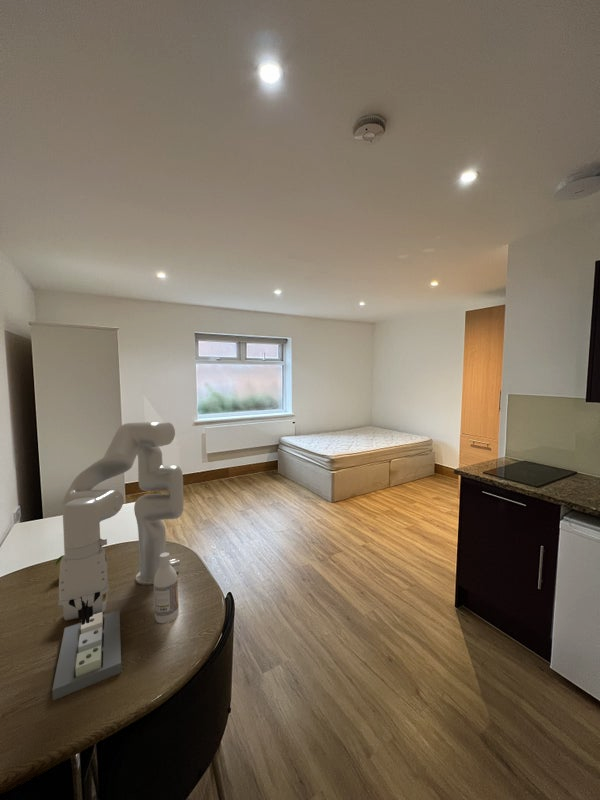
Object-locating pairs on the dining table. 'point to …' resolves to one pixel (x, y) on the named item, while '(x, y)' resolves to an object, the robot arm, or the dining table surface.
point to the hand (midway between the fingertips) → (85, 620)
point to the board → (69, 650)
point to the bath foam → (165, 591)
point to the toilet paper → (98, 605)
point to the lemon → (58, 561)
